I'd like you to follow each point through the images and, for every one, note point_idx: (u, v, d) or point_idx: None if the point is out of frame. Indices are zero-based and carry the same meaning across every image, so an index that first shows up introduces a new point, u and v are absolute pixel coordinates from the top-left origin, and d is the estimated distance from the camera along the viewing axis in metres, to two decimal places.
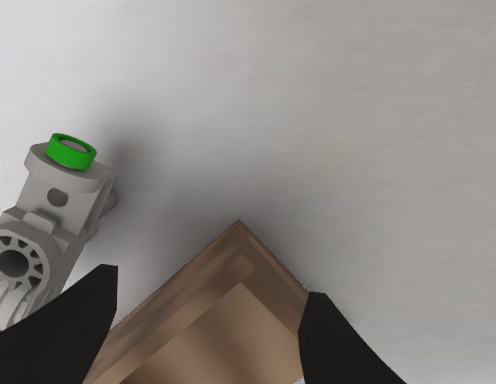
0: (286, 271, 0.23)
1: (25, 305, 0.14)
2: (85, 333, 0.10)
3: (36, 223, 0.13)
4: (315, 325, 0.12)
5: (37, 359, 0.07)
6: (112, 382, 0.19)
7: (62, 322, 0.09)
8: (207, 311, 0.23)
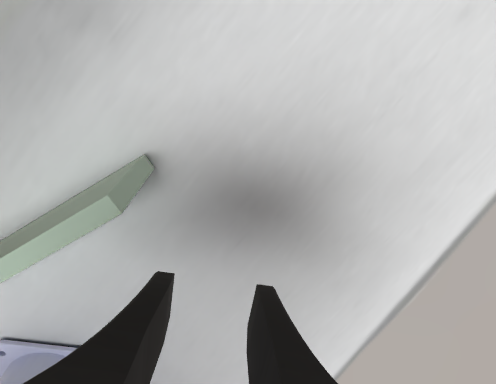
0: None
1: None
2: (153, 341, 0.10)
3: None
4: (257, 318, 0.11)
5: (130, 369, 0.08)
6: None
7: (141, 331, 0.09)
8: None
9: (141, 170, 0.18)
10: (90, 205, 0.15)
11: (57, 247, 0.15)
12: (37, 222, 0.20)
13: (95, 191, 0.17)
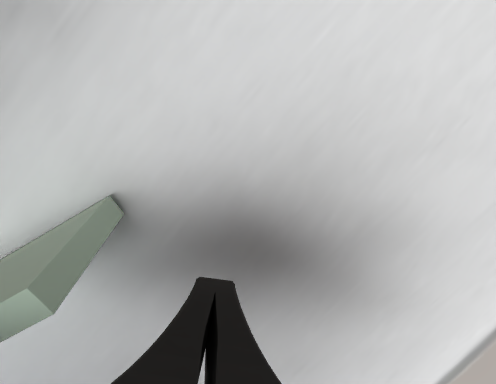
0: None
1: None
2: (203, 347, 0.10)
3: None
4: (212, 312, 0.11)
5: (198, 376, 0.08)
6: None
7: (199, 338, 0.09)
8: None
9: (101, 223, 0.13)
10: (2, 302, 0.09)
11: None
12: None
13: (31, 258, 0.12)
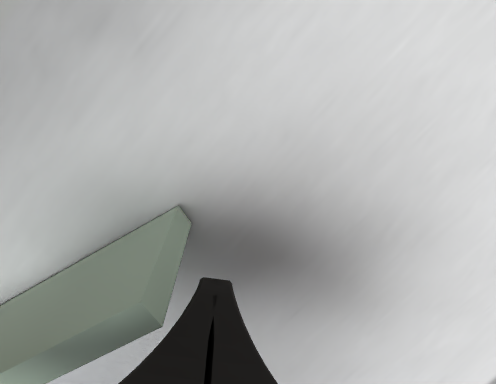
0: None
1: None
2: (207, 347, 0.10)
3: None
4: None
5: (204, 377, 0.08)
6: None
7: (204, 339, 0.09)
8: None
9: (177, 233, 0.13)
10: (113, 315, 0.09)
11: (61, 371, 0.10)
12: (33, 300, 0.14)
13: (115, 269, 0.12)
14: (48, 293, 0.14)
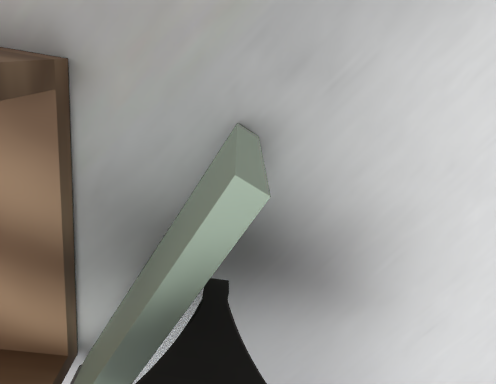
0: None
1: None
2: None
3: None
4: None
5: (218, 378, 0.08)
6: None
7: (216, 340, 0.09)
8: None
9: (248, 140, 0.12)
10: (214, 205, 0.08)
11: (191, 295, 0.09)
12: (144, 274, 0.14)
13: (201, 195, 0.11)
14: (154, 260, 0.14)
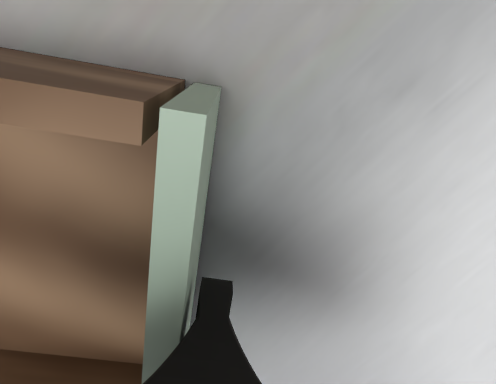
0: None
1: None
2: None
3: None
4: (197, 311, 0.11)
5: (224, 379, 0.08)
6: None
7: (221, 341, 0.09)
8: None
9: (202, 89, 0.11)
10: (158, 149, 0.08)
11: (185, 253, 0.09)
12: None
13: None
14: None
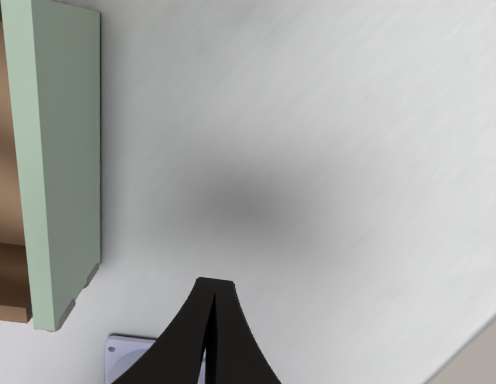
0: None
1: None
2: (203, 347, 0.10)
3: None
4: (212, 313, 0.11)
5: (198, 376, 0.08)
6: None
7: (199, 338, 0.09)
8: None
9: None
10: (3, 20, 0.12)
11: (34, 101, 0.13)
12: None
13: None
14: None
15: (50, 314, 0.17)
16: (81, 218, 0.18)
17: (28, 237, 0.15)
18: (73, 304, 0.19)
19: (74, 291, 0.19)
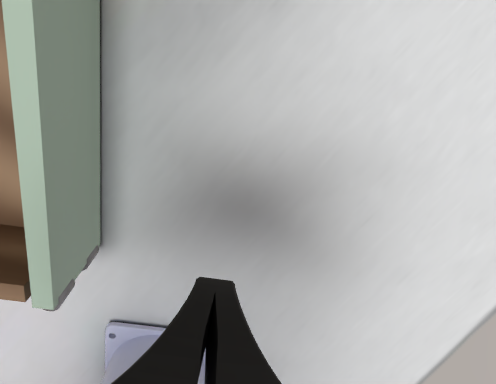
0: None
1: None
2: (203, 346, 0.10)
3: None
4: (212, 313, 0.11)
5: (198, 376, 0.08)
6: None
7: (199, 338, 0.09)
8: None
9: None
10: None
11: (32, 63, 0.12)
12: None
13: None
14: None
15: (49, 292, 0.16)
16: (80, 195, 0.18)
17: (26, 209, 0.15)
18: (72, 284, 0.18)
19: (74, 271, 0.19)
